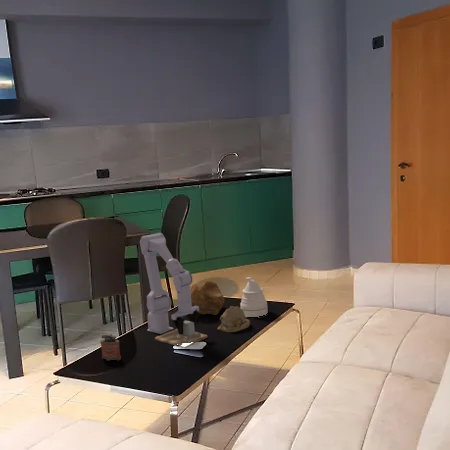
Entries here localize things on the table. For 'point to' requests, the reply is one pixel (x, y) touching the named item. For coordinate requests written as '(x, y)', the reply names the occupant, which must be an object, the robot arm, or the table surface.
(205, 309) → the rough brown rock
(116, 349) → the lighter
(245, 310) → the honey pot
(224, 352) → the table surface
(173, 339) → the birch board
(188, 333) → the peg
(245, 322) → the ceramic model
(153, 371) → the table surface
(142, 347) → the table surface
